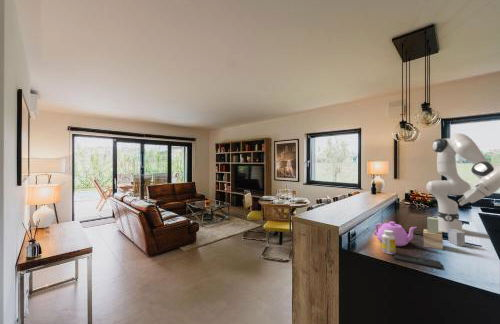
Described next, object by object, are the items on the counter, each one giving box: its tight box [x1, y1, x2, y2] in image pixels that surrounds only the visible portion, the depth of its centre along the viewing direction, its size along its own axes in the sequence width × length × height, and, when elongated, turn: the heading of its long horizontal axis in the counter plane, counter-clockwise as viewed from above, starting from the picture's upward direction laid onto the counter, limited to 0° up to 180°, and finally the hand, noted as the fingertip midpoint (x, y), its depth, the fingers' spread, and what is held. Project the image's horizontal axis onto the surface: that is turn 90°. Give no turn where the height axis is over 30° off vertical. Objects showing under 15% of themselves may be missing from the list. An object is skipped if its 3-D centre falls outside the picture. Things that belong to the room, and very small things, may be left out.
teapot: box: [374, 220, 417, 247], centre depth 143 cm, size 25×18×14 cm
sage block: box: [426, 216, 438, 234], centre depth 137 cm, size 5×5×9 cm
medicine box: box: [447, 229, 466, 247], centre depth 139 cm, size 8×4×9 cm, turn 168°
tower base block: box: [423, 239, 444, 251], centre depth 137 cm, size 9×9×4 cm
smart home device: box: [393, 252, 443, 270], centre depth 116 cm, size 8×2×20 cm
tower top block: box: [422, 228, 443, 243], centre depth 137 cm, size 9×9×4 cm
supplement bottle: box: [381, 230, 397, 256], centre depth 128 cm, size 7×7×13 cm
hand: (459, 203), depth 131 cm, fingers open, 8 cm apart
